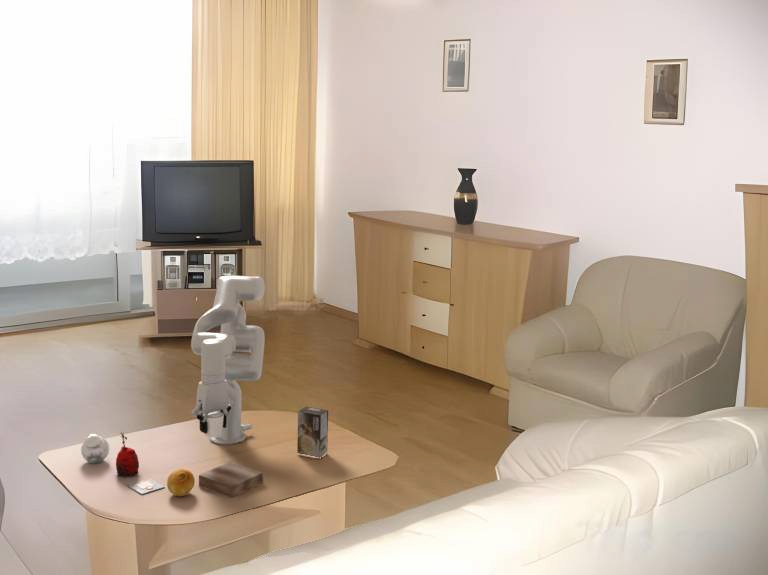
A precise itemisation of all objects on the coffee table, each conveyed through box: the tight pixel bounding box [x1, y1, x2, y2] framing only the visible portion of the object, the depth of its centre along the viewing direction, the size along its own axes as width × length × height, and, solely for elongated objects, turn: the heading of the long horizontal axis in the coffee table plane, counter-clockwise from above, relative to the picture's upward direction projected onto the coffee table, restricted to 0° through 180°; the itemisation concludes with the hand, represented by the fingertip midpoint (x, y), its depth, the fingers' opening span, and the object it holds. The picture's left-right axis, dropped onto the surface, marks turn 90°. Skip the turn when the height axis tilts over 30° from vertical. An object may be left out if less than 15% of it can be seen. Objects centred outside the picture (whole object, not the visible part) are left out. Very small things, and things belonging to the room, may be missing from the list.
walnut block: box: [198, 461, 264, 498], centre depth 278 cm, size 14×14×4 cm
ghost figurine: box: [80, 433, 110, 464], centre depth 290 cm, size 9×10×10 cm
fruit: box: [166, 468, 196, 497], centre depth 269 cm, size 8×8×8 cm
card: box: [127, 478, 165, 496], centre depth 273 cm, size 8×8×1 cm
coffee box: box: [296, 406, 329, 458], centre depth 304 cm, size 9×6×16 cm
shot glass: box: [203, 411, 224, 438], centre depth 287 cm, size 7×7×7 cm
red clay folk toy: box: [115, 432, 140, 477], centre depth 281 cm, size 8×7×15 cm
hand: (213, 429), depth 288 cm, fingers closed on shot glass, 6 cm apart
